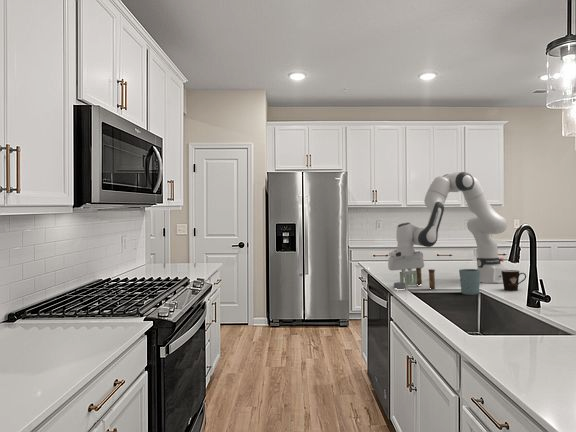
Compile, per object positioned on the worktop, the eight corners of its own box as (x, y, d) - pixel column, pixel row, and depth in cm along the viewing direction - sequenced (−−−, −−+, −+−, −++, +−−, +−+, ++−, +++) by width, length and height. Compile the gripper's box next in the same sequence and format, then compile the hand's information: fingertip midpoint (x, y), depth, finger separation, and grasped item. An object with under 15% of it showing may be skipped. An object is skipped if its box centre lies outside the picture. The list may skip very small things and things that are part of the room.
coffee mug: (501, 290, 250) (500, 271, 250) (502, 288, 257) (501, 269, 257) (526, 291, 244) (525, 272, 244) (526, 289, 252) (526, 270, 252)
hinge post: (420, 285, 278) (419, 266, 278) (423, 286, 274) (422, 267, 274) (415, 285, 277) (414, 267, 277) (418, 286, 274) (417, 267, 274)
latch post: (432, 288, 266) (431, 268, 266) (437, 289, 260) (436, 269, 260) (426, 288, 265) (425, 269, 265) (431, 290, 260) (430, 270, 260)
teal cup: (458, 294, 244) (457, 270, 244) (461, 291, 253) (460, 268, 253) (479, 295, 239) (479, 271, 239) (482, 292, 248) (481, 268, 248)
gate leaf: (417, 284, 274) (416, 270, 274) (402, 286, 270) (401, 272, 270) (415, 284, 276) (414, 270, 276) (400, 286, 272) (399, 271, 272)
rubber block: (401, 289, 267) (401, 282, 267) (405, 290, 263) (405, 283, 263) (394, 289, 266) (393, 282, 266) (397, 291, 262) (397, 283, 262)
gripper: (419, 250, 271) (421, 275, 271) (386, 253, 266) (387, 278, 266) (425, 251, 265) (426, 276, 265) (391, 254, 260) (392, 279, 260)
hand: (406, 277), depth 266 cm, fingers closed
